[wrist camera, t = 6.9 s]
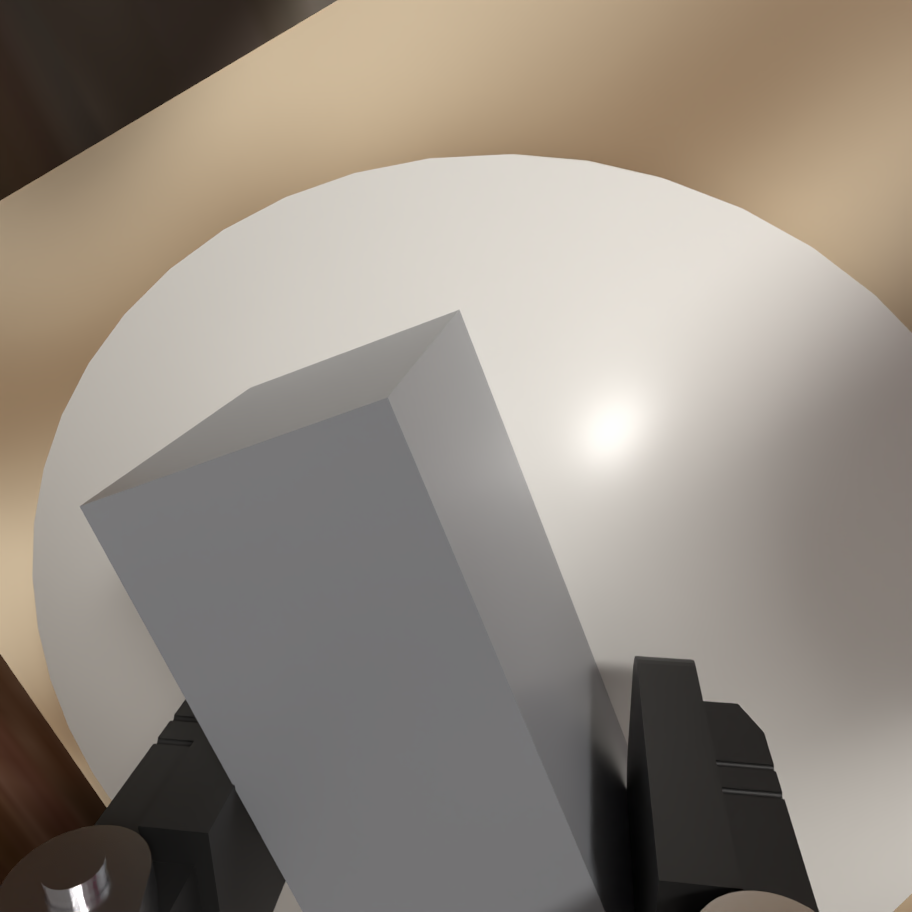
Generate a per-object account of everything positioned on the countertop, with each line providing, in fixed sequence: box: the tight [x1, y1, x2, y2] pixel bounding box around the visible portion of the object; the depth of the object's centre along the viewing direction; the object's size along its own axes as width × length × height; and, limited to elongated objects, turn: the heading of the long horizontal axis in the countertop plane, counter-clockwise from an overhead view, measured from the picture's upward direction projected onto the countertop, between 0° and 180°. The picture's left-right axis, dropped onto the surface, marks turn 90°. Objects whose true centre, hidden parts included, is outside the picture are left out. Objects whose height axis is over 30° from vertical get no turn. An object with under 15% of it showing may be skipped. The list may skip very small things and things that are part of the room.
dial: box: [32, 154, 912, 912], centre depth 11 cm, size 14×14×6 cm
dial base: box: [0, 0, 912, 912], centre depth 14 cm, size 18×18×2 cm
